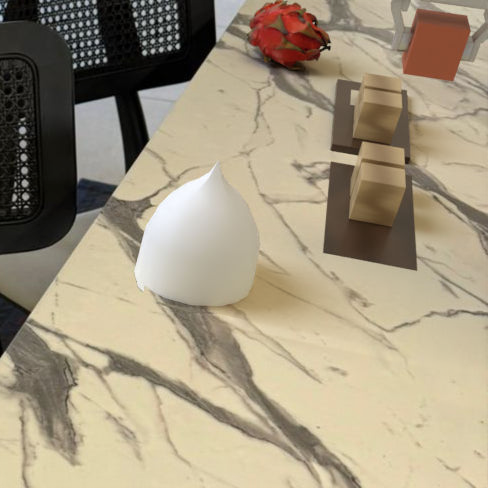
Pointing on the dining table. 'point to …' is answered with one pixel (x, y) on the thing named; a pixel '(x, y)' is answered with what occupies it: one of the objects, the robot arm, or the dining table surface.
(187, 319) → the dining table surface
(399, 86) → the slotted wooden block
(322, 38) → the dragon fruit
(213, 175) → the teardrop
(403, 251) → the grooved block on base
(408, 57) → the rust red cube
